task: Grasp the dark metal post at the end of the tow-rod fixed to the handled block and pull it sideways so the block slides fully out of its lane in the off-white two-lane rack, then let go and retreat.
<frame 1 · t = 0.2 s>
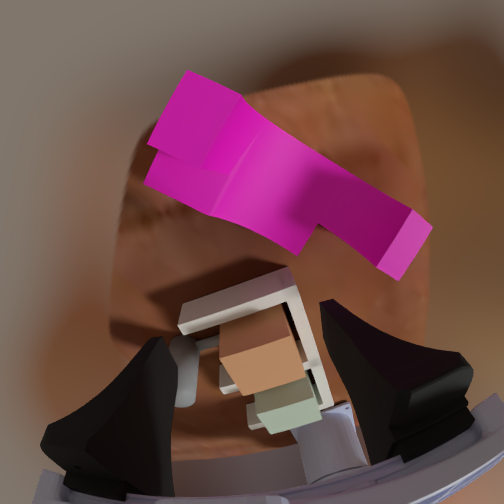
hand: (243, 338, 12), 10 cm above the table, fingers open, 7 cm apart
green block: (281, 375, 27), resting in rack
handled block: (257, 324, 24), on the table
rack: (265, 353, 25), on the table
toy block: (275, 182, 20), on the table
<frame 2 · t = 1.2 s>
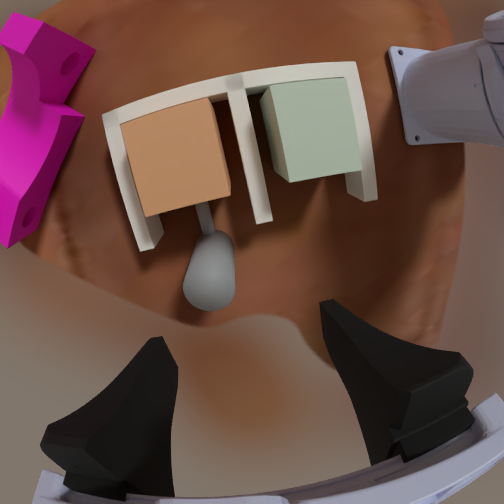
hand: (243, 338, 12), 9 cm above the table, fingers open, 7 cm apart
green block: (295, 130, 18), resting in rack
handled block: (189, 153, 18), on the table
rack: (242, 147, 18), on the table
toy block: (45, 132, 16), on the table
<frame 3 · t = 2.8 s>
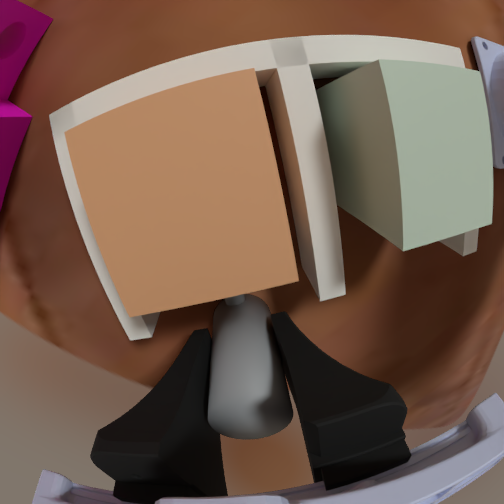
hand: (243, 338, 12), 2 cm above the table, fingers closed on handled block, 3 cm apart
green block: (368, 141, 11), resting in rack
handled block: (201, 174, 11), on the table, touching gripper
rack: (289, 166, 11), on the table
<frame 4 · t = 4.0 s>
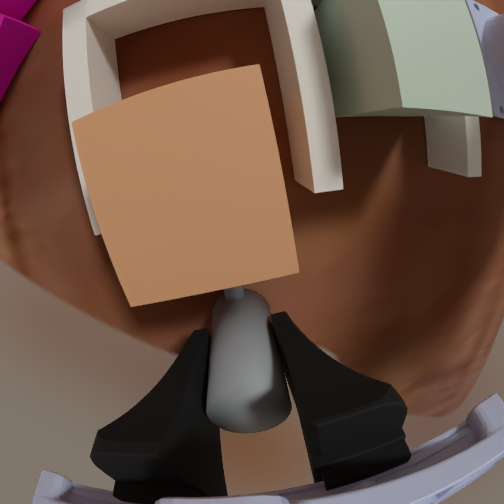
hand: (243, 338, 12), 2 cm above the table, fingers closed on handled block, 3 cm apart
green block: (363, 64, 10), resting in rack
handled block: (204, 169, 11), on the table, touching gripper
rack: (284, 75, 10), on the table
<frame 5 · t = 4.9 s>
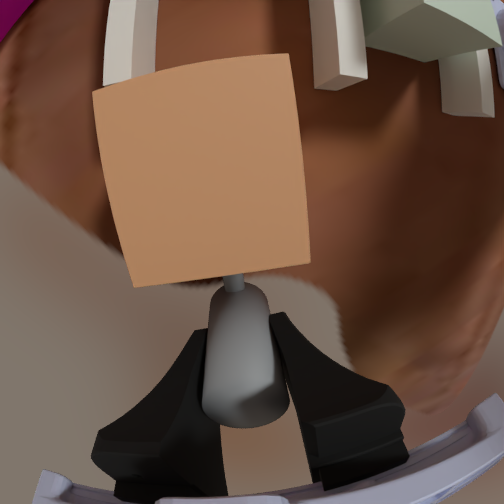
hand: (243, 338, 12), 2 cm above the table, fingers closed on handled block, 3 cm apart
green block: (386, 11, 9), resting in rack
handled block: (214, 158, 11), on the table, touching gripper
rack: (314, 2, 9), on the table
when the fingers open (2 cm above the table, at t = 5.0 s): handled block stays where it is, on the table.
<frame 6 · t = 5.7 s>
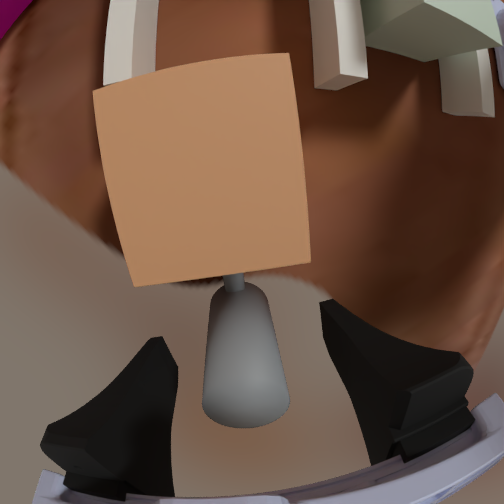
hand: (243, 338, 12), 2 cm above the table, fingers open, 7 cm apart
green block: (386, 11, 9), resting in rack
handled block: (214, 158, 11), on the table
rack: (314, 2, 9), on the table
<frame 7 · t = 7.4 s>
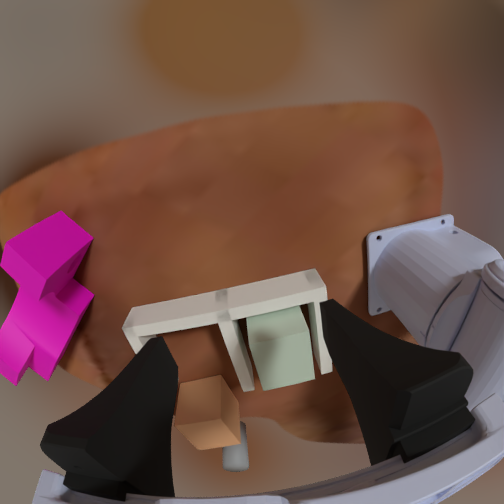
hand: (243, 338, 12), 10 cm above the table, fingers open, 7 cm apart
green block: (274, 319, 24), resting in rack
handled block: (210, 393, 27), on the table
rack: (232, 333, 24), on the table
toy block: (60, 292, 22), on the table
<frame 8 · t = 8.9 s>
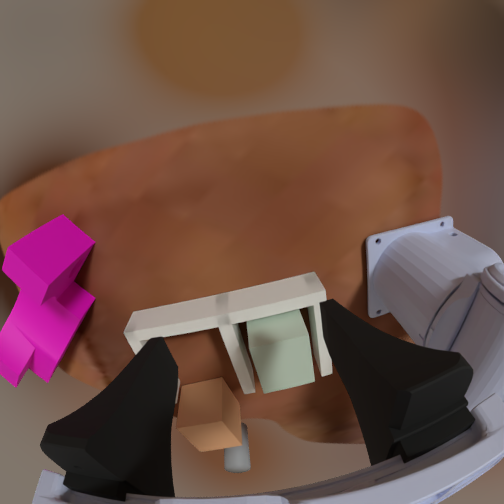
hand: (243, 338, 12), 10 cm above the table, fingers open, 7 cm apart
green block: (274, 322, 24), resting in rack
handled block: (211, 396, 27), on the table
rack: (233, 336, 24), on the table
toy block: (60, 295, 22), on the table
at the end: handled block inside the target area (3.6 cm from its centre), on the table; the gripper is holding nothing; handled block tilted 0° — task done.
